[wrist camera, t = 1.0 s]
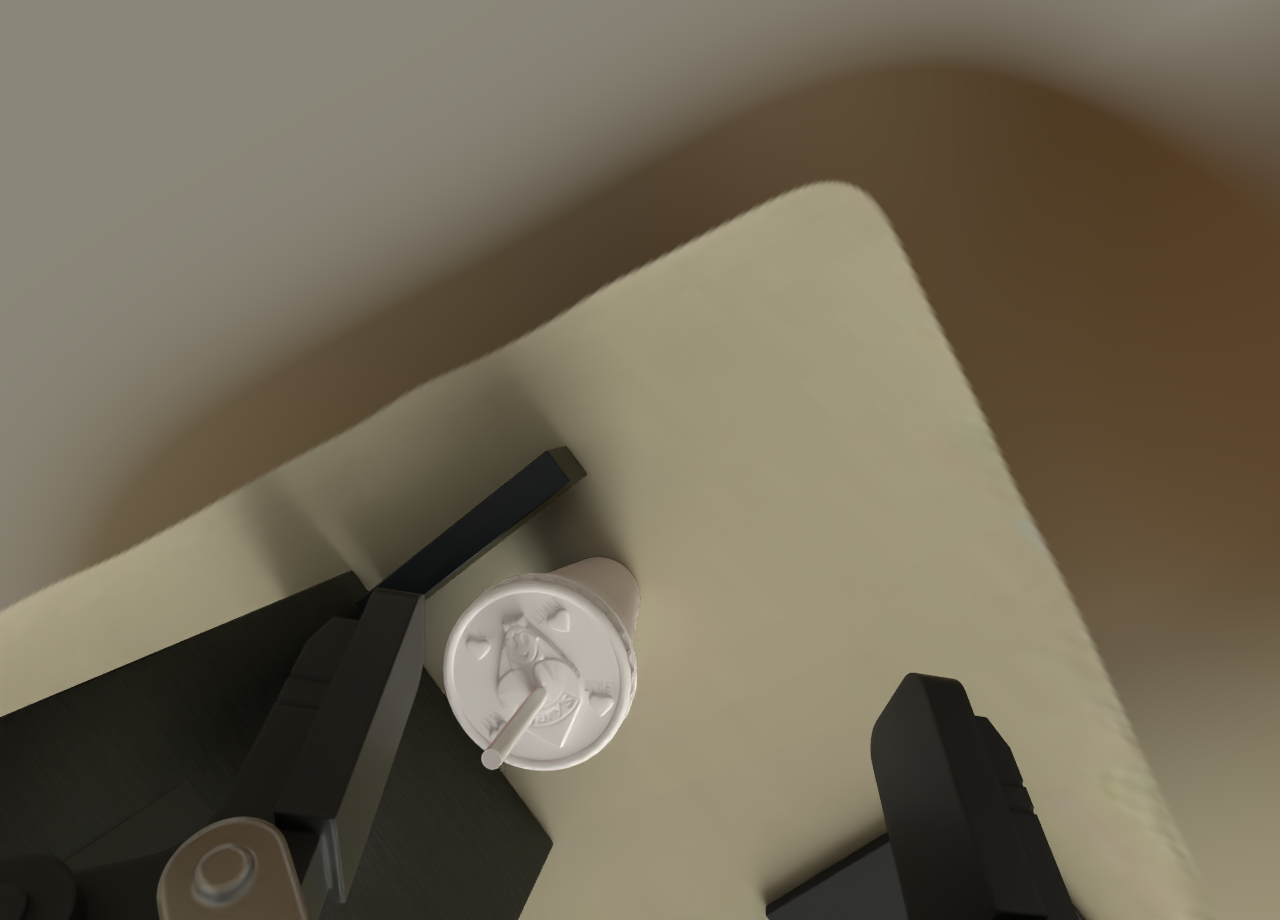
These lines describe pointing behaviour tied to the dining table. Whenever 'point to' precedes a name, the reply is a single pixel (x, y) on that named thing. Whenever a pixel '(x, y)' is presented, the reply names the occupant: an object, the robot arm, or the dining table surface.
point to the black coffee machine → (232, 719)
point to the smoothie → (546, 664)
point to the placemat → (850, 890)
